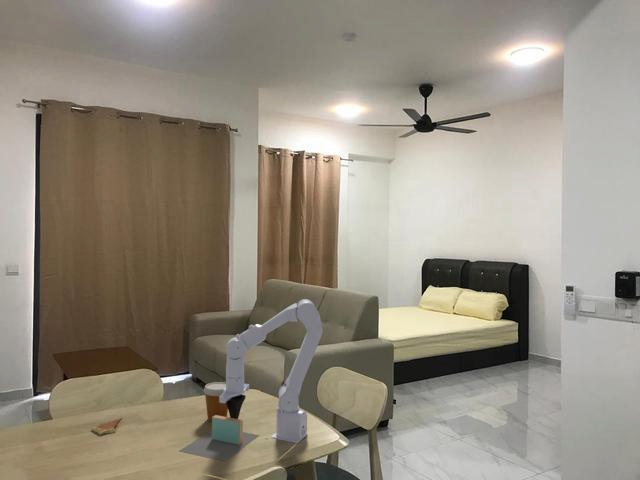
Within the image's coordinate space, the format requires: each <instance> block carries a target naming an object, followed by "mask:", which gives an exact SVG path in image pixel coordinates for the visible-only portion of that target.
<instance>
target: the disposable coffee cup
mask: <svg viewBox="0 0 640 480" xmlns="http://www.w3.org/2000/svg"><path fill="white" fill-rule="evenodd" d="M224 388H226V381H224V382H223V381H217V382H215V381H214V382H210V383H207V384H205V386H204V389H203V392H204V395H205V396H204V398H205V405H206V414H207V415H206V416H207V421H208V422H210V423H212V417H213V416H215V415H218V416H223V417H228V413H229V410H228V407H227V405H226V403H219V396H221V395H222V394H223V392H224V391H223V389H224Z"/></svg>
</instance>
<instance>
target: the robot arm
mask: <svg viewBox="0 0 640 480" xmlns="http://www.w3.org/2000/svg"><path fill="white" fill-rule="evenodd" d="M298 320H299V321H300V322H301V323H302V324H303V325H304V328H305V331H306V334H305V336H304V338H303V341H302V343H301V346H300V348H299V350H298V353H297V355H296V358H295V360H294V363H293V366H291V369H290V372H289V375H288V376H287V378H286V379H285V382H284V383H283V385H281V386H280V387H279V389H278V392H277V396H278V405H277V406H276V430H275V431H276V432H275V433H273V434H272V435H271V436H270V437H271V439H276V440H280V441H284V442H285V441H286V442H290V443H295V444H299V443H300V442H301V441H303V439H304V438H305V437H307V436H308V413H307V411H305V410H302V409H300V405H299V404H300V398H299V396H300V394H301V390H302V387H303V382H304V380H305V377H306V374H308V373H307V372H308V371H309V367H310V365H311V363H312V360H313V357H314V355H315V353H316V351H317V348H318V345H319V343H320V340H321V338H322V336H323V332H324V331H323V326H322V325H323V324H322V321H321V316H320V313H319V311H318V309H317V307H316V305H315V304H314V302H313V301H312V300H310V299H306V298H303V299H301V300H299V301H298V302H297V303H296V302H294V303H293V304H290V305H289V306H288V307H286V308H285V309H283V310H282V311H280V312H279V313H277V314H276V315H273V317H272V318H270V319H268V320H267V321H266V322H264V323H263V324H258V323H256V324H254V325H253V324H250V325H249V326H248V329H246V330H244V331H243V332H241V333H240V334H239V333H237V334H236V335H235V337H232V338H230V339H229V340H228V342H227V345H226V347H225V352H226V354H227V355H226V363H225V383H226V388H224V389H223V391H224V392H223V394H222V395H221V396H219V403H226V405H227V407H228V413H229V414H228V415H229V418H234V419H239V417H240V413H241V409H242V407H243V404H244V402H245V400H246V395H245V394H244V393H245V392H248V391H249V390H250V384H249V383H245V357H244V356H245V352H246V351H250V350H251V349H253V348H254V347H256V346H258V345H259V344H261V343H263V341H265V340H266V338H267V334H269V333H270V332H273V331H274V330H275V329H277V328H279V327H281V326H283V325H285V324H286V323H288V322H295V323H297V322H298Z"/></svg>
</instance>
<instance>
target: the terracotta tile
mask: <svg viewBox="0 0 640 480" xmlns="http://www.w3.org/2000/svg"><path fill="white" fill-rule="evenodd" d="M211 431H212V439H213V440H218V441H223V442H228V443H232V444H237V445H240V444H241V443H243V432H244V419H239V418H238V419H234V418H230V416H229V417H228V416H227V417H223V416H218V415H215V416H213V417H212V422H211Z"/></svg>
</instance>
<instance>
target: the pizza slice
mask: <svg viewBox="0 0 640 480" xmlns="http://www.w3.org/2000/svg"><path fill="white" fill-rule="evenodd" d="M122 420H123V417H121V418H118V419H114V420H111V421H110V420H109V421H107V422H104V423H99V424H97V425H93V426H92V428H91V430H92V431H93V432H95V433H97V434H99V435H104V434H111V433H116V432H117V429H118V428H119V427H120V425H121V424H122Z"/></svg>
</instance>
